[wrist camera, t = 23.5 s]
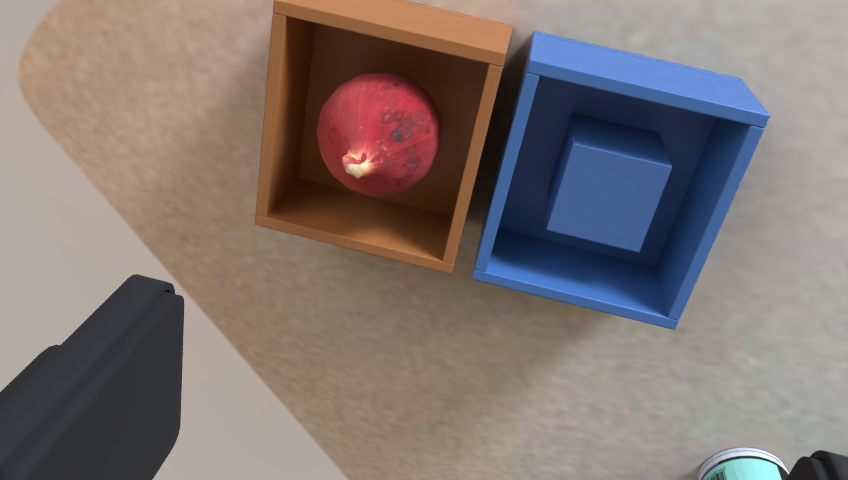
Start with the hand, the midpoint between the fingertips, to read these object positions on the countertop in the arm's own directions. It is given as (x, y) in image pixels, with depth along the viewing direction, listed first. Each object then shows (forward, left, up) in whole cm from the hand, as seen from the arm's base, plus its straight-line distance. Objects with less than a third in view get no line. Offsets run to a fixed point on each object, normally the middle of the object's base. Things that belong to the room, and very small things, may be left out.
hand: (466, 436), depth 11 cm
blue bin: (+6, +5, -28) cm, 29 cm away
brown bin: (+6, -6, -28) cm, 29 cm away
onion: (+5, -6, -28) cm, 29 cm away
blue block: (+6, +5, -28) cm, 29 cm away
